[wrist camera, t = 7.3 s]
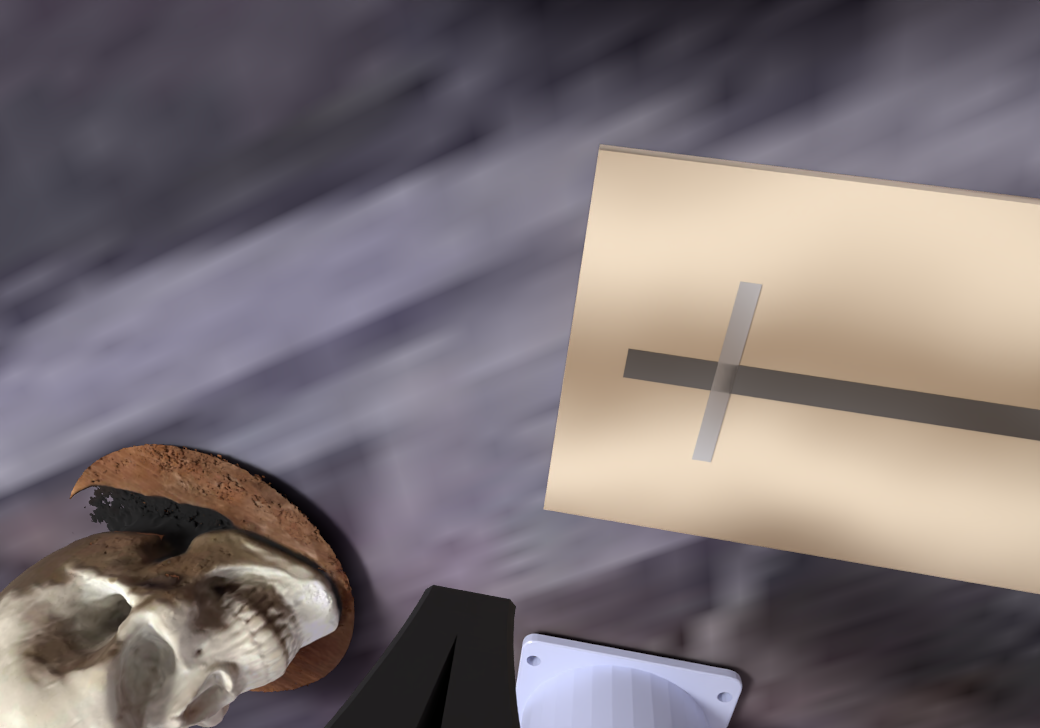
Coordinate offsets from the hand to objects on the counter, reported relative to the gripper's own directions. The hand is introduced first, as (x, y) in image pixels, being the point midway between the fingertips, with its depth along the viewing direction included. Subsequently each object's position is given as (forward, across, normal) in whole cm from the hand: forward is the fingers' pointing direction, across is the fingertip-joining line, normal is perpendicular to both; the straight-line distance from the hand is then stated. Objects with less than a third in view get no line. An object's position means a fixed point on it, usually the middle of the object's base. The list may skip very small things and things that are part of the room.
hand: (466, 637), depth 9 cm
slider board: (+9, -11, -2) cm, 15 cm away
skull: (+10, +11, +10) cm, 18 cm away
